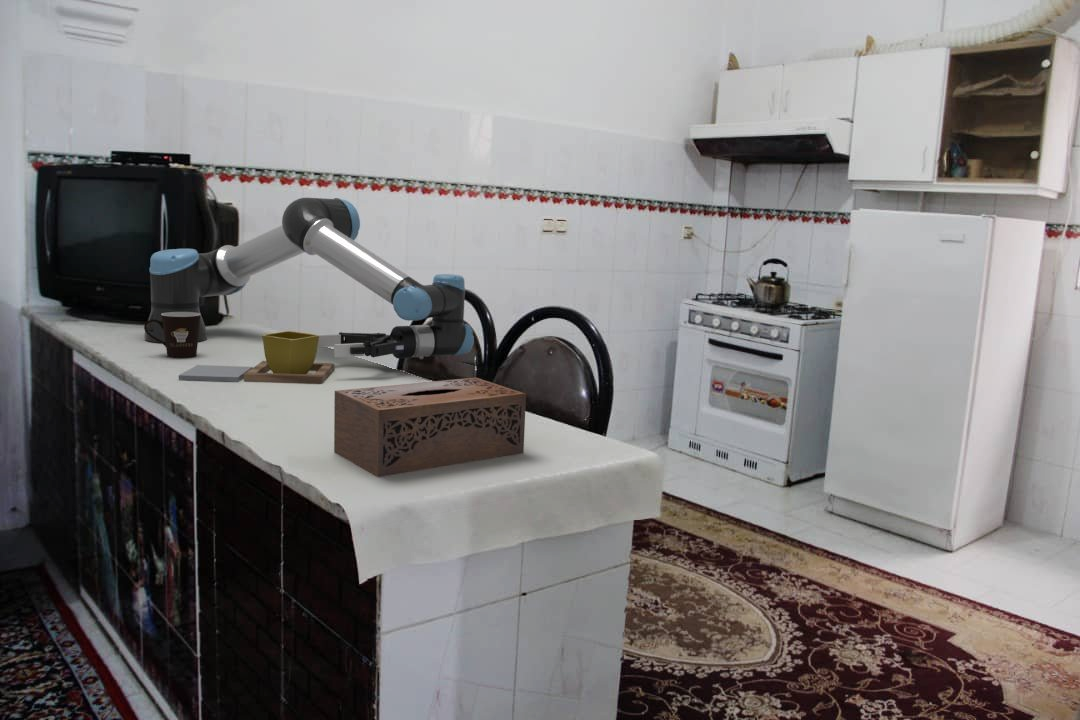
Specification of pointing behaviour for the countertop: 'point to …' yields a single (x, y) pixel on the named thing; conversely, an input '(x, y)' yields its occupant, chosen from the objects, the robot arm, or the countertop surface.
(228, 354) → the countertop surface
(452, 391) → the tissue box cover
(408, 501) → the countertop surface
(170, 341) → the coffee mug
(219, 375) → the mat
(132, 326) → the countertop surface
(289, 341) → the flower pot
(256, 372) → the board
